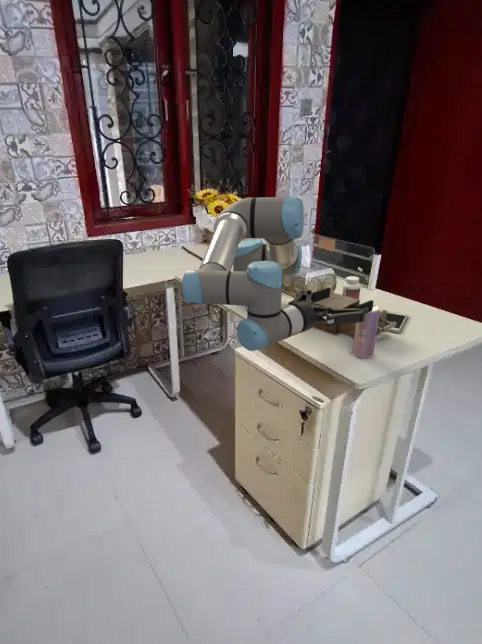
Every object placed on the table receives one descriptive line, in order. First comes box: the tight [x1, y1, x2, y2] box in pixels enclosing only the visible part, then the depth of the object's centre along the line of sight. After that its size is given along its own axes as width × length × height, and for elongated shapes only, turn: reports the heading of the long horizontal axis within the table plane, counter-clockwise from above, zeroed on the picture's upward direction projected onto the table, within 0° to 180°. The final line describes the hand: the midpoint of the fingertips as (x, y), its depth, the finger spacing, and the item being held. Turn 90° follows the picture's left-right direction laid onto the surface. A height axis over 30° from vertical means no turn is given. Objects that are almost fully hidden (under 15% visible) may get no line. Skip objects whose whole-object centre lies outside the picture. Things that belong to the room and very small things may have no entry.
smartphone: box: [385, 310, 409, 333], centre depth 143 cm, size 7×16×1 cm, turn 146°
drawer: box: [338, 304, 397, 336], centre depth 134 cm, size 17×12×7 cm
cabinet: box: [304, 291, 361, 336], centre depth 144 cm, size 14×13×9 cm
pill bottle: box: [341, 275, 361, 300], centre depth 157 cm, size 6×6×11 cm
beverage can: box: [352, 304, 381, 359], centre depth 121 cm, size 6×6×15 cm
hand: (349, 298), depth 111 cm, fingers open, 13 cm apart
